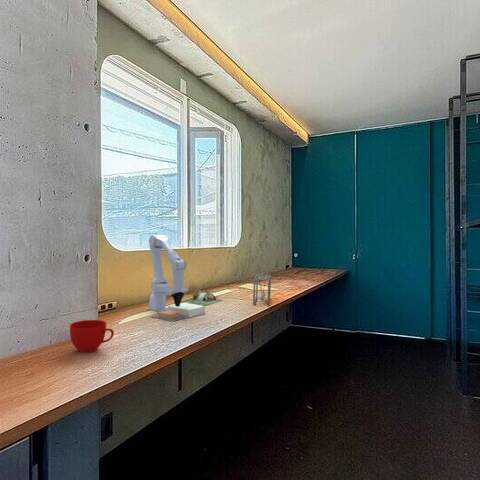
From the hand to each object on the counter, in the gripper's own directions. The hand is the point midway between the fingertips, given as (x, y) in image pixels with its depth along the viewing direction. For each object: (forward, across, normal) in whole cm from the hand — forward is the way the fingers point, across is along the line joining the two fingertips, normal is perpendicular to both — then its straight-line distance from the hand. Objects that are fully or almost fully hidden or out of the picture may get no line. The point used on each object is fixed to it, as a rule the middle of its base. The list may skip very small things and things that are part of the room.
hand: (177, 306), depth 203 cm
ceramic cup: (+5, -64, -15) cm, 66 cm away
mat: (+5, -6, 0) cm, 8 cm away
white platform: (+5, +8, 0) cm, 9 cm away
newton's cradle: (+5, +68, -16) cm, 70 cm away
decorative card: (+6, +40, +15) cm, 44 cm away
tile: (+3, -7, 0) cm, 8 cm away
